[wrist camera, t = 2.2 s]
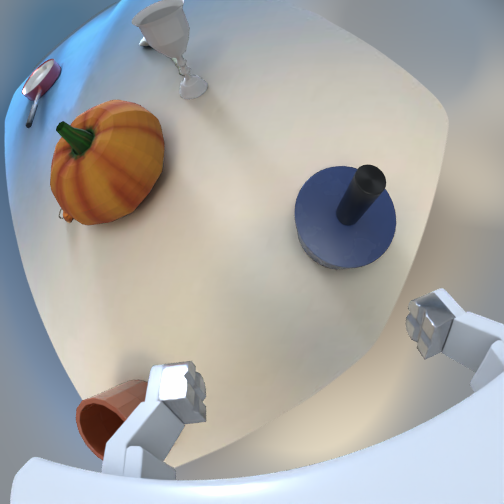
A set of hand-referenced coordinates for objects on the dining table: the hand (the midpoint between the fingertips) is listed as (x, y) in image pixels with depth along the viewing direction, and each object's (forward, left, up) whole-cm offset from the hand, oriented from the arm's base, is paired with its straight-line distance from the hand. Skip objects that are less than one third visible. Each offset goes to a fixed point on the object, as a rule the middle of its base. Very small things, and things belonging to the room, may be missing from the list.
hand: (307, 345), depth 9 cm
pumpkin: (+33, +1, -25) cm, 41 cm away
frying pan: (+78, +1, -25) cm, 82 cm away
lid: (+2, -12, -19) cm, 22 cm away
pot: (+6, +25, -24) cm, 35 cm away
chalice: (+35, -18, -25) cm, 46 cm away
